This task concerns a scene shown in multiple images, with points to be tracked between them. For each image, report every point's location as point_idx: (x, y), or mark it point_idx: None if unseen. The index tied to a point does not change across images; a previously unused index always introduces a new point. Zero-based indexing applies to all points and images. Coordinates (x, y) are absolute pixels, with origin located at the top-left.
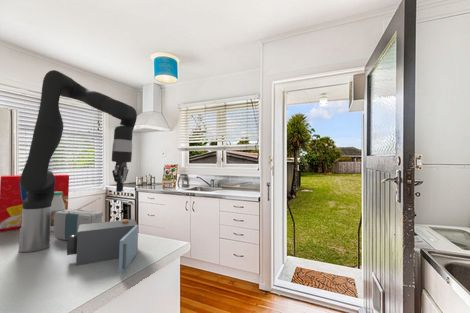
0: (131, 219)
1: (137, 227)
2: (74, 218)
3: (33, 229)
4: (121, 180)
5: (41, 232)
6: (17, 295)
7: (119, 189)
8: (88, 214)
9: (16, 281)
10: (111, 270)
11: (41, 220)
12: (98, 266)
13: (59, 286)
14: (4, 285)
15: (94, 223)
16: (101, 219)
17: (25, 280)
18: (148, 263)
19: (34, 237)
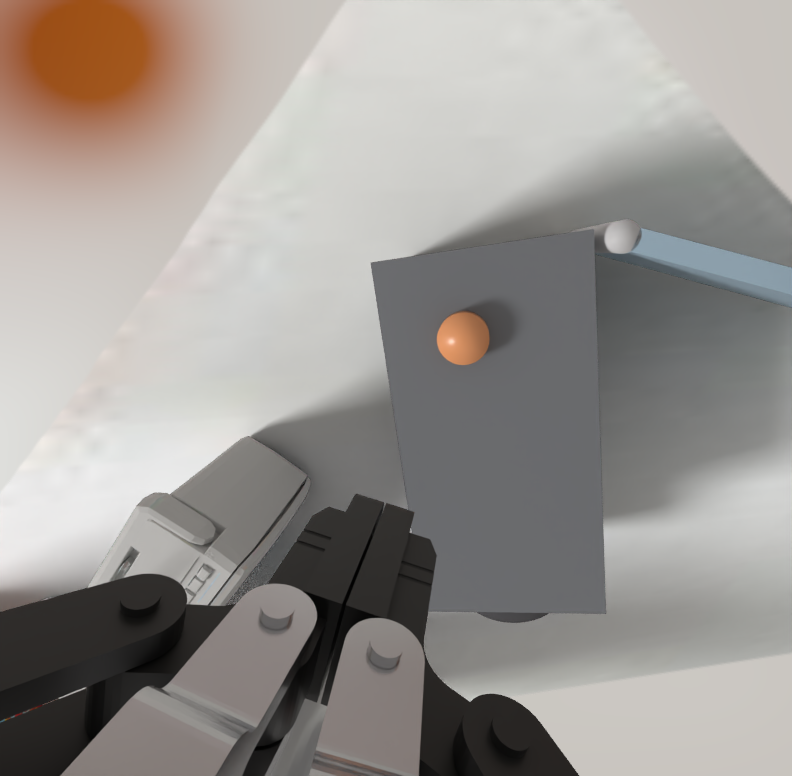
0: (376, 286)
1: (636, 227)
2: None
3: (312, 751)
4: (530, 735)
5: (306, 706)
6: (757, 632)
7: (434, 569)
8: (211, 587)
9: (628, 653)
10: (711, 353)
11: (282, 772)
12: (628, 413)
13: (763, 529)
14: (645, 675)
15: (422, 536)
16: (191, 486)
17: (635, 632)
18: (724, 160)
19: (324, 708)
